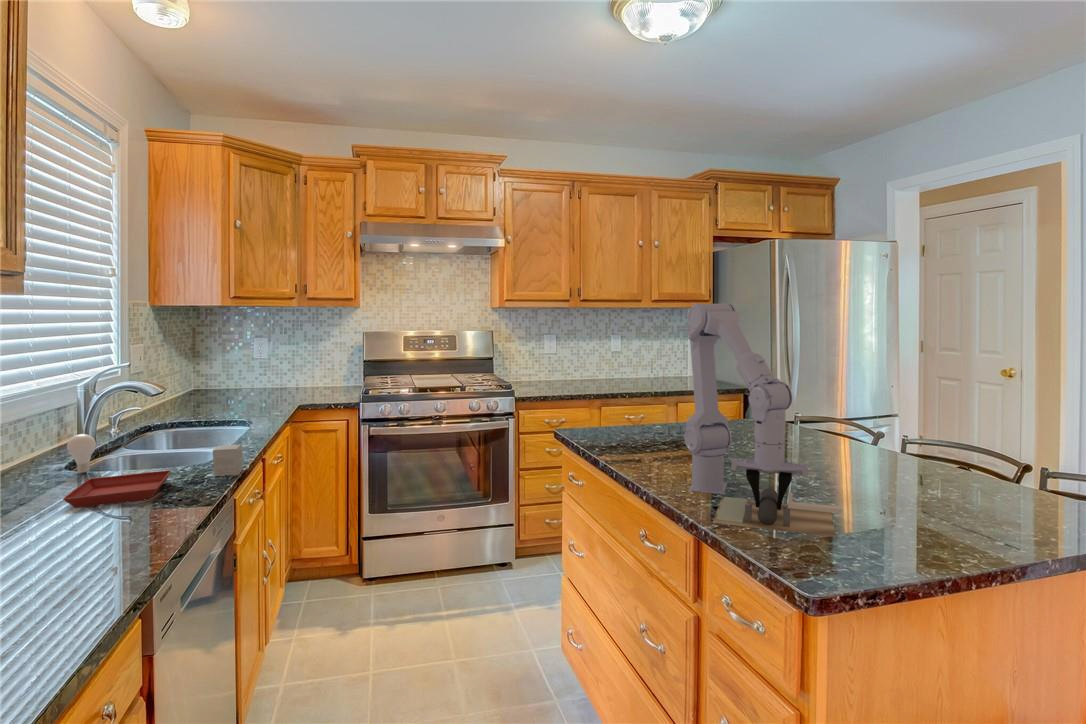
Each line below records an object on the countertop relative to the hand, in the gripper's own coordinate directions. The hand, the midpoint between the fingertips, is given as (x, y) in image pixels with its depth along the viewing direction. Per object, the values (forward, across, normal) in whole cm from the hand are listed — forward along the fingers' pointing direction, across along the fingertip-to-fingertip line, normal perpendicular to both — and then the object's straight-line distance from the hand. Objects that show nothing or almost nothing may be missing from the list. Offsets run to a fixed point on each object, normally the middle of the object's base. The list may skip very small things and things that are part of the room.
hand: (768, 507), depth 122 cm
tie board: (+2, +1, 0) cm, 2 cm away
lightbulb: (+2, -176, -28) cm, 178 cm away
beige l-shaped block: (-2, +8, -6) cm, 11 cm away
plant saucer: (+3, -145, -37) cm, 150 cm away
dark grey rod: (+1, 0, 0) cm, 1 cm away
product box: (+2, -137, -14) cm, 138 cm away
